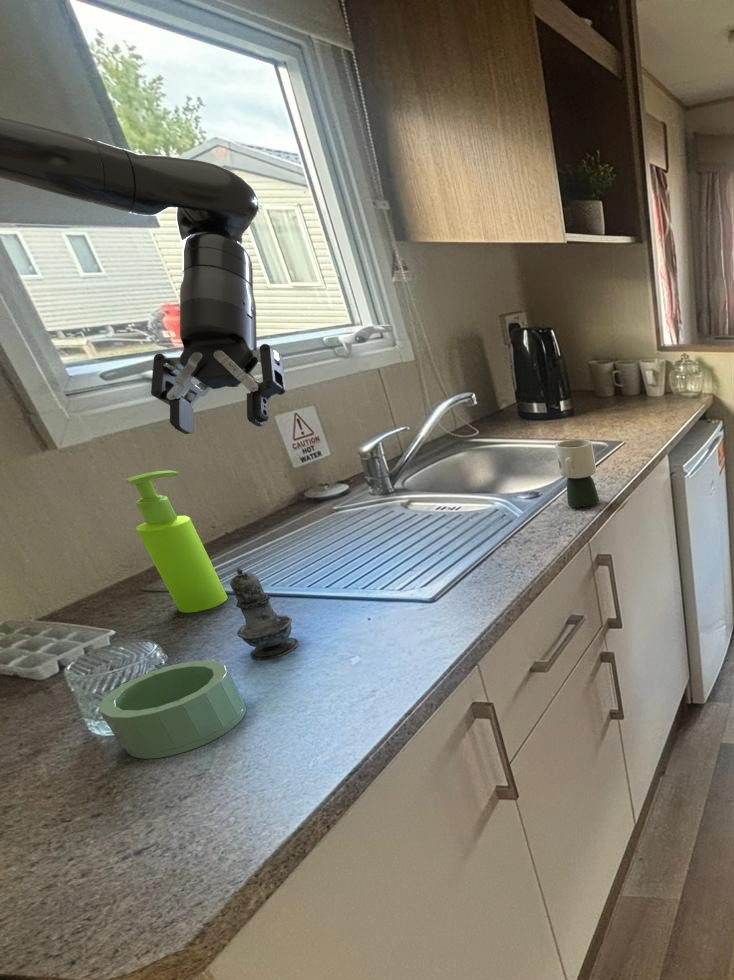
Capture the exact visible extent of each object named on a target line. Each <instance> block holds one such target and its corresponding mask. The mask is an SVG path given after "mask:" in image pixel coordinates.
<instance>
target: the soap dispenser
mask: <svg viewBox="0 0 734 980" xmlns="http://www.w3.org/2000/svg"><path fill="white" fill-rule="evenodd" d="M179 475H180V472H178V471H175V470H156V471H149V472H145V473H144V472H143V473H141V474H137V475H133V476H130V477H126V478H124V480H125V482H126V483H127V484H129V485H132V486H133V485H134V486H135V487H136V489H137V491H138V493H139V495H140V496H141V497H140V498H139V499H138V500H137V501H135V504H136V506H137V508H138V511H139V512H140V514H141V516H142V518H143V520H144V522H143V523H141V524H139V525H137V526H136V527H135V530H136V532H137V534H138V536H139V537H140V540H141V542H142V543H143V545H144V547H145V549H146V552H147V554H148V555H149V556H150V558H151V561H152V562H153V564H154V567H155V568H156V570H157V572H158V574H159V576H160V578H161V580H162V581H163V583H164V585H165V587H166V589H167V591H168V593H169V595H170V597H171V599H172V601H173V603H174V605H175V606H176V608H177V610H178V612H180V613H183V614H185V613H186V614H187V613H188V614H191V613H199V612H203V611H206V610H210V609H214V608H216V607H218V606H221V605H222V604H224V603H225V602H227V600H228V595H227V593H226V591H225V588H224V586H223V584H222V582H221V580H220V578H219V575H218V574H217V571H216V570H215V567H214V566H213V563H212V561H211V559H210V556H209V554H208V552H207V550H206V548H205V546H204V544H203V543H202V540H201V538H200V536H199V534H198V532H197V529H196V528H195V525H194V523H193V521H192V519H191V518H190V517H189V516H187V515H177V514H176V511H175V509H174V508H173V506H172V503H171V501H170V499H169V498H168V496H166V495H162V494H158V492H157V490H156V488H155V486H154V484H153V482H152V481H153V480H157V479H161V478H168V477H178V476H179Z"/></svg>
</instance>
